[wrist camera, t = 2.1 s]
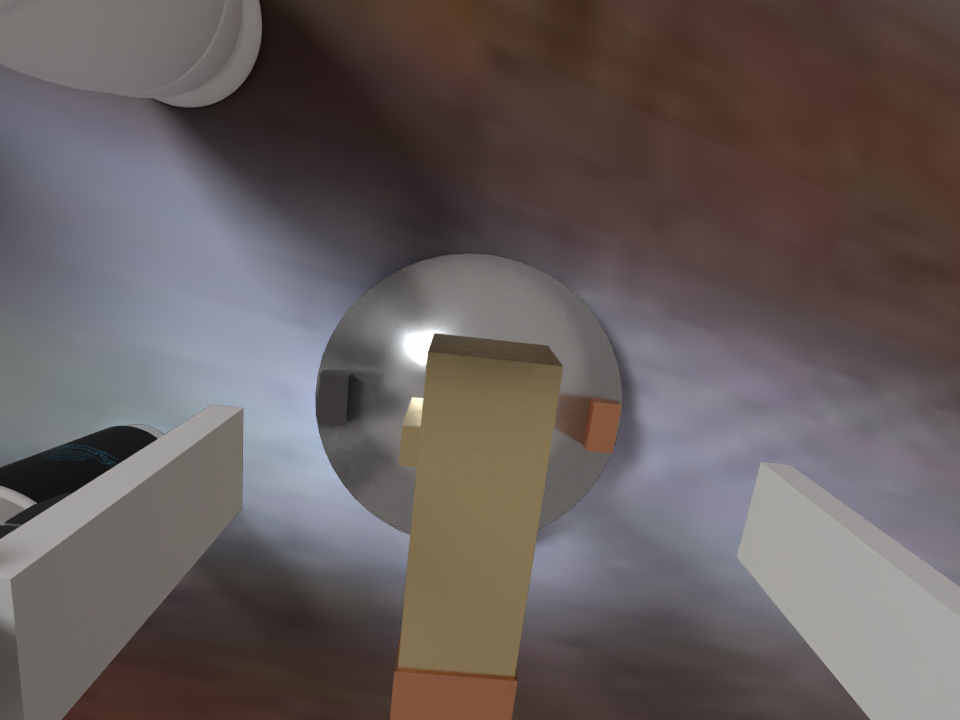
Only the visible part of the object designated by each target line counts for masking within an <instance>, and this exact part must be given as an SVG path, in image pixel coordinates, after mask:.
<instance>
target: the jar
mask: <svg viewBox="0 0 960 720" xmlns="http://www.w3.org/2000/svg"><path fill="white" fill-rule="evenodd" d="M261 36H262V16H261V9H260V3H259V0H0V64H1V65H4V66H6V67H9V68H11V69H14V70H16V71H19V72H22V73H24V74H27V75H30V76H33V77H36V78H39V79H42V80H46V81H49V82H53V83H56V84H60V85H64V86H68V87H73V88H78V89H83V90H90V91H97V92H106V93H114V94H119V95H124V96H131V97H140V98H154V99H156V100H158V101H161V102H163V103H166V104H169V105H173V106H179V107H202V106H206V105H210V104H213V103H216V102H218V101H220V100H222V99H224V98H226V97H227V96H229V95H230V94H232V93H233V92H234V91H235V90H236V89H238V88H239V87H240V86H241V84H242V83H243V82H244V81H245V79H246V78H247V77H248V75H249V74H250V72H251V70H252V68H253V66H254V64H255V61H256V59H257V56H258V53H259V48H260V44H261Z"/></svg>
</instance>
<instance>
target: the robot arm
mask: <svg viewBox="0 0 960 720" xmlns="http://www.w3.org/2000/svg"><path fill="white" fill-rule="evenodd" d="M242 473H243V408H239V407H229V406H220V405H211V406H209V407H208V408H206V409H204V410H203V411H201V412H200V413H198V414H197V415H195V416H193V417H192V418H190V419H189V420H187V421H185V422H184V423H182V424H181V425H179V426H178V427H176V428H174V429H173V430H171V431H170V432H168V433H167V434H165V435H163V436H162V437H160V438H159V439H157V440H156V441H154V442H152V443H151V444H149V445H148V446H146V447H145V448H143V449H141V450H140V451H138V452H137V453H135V454H134V455H132V456H130V457H129V458H127V459H126V460H124V461H122V462H121V463H119V464H118V465H116V466H115V467H113V468H111V469H110V470H108V471H107V472H105V473H104V474H102V475H100V476H99V477H97V478H96V479H94V480H93V481H91V482H89V483H88V484H86V485H85V486H83V487H82V488H80V489H78V490H77V491H75V492H74V493H64V494H61V495H59V496H56V497H53V498H51V499H48V500H45V501H42V502H40V503H37V504H34V505H32V506H30V507H29V508H27V509H25V510H24V511H22V512H20V513H19V514H17V515H15V516H14V517H12V518H10V519H9V520H7V521H6V522H5V524H4V525H0V720H61V719H62V718H63V717H64V716H65V715H66V714H67V712H68V711H69V710H70V709H71V708H72V707H73V705H74V704H75V703H76V702H77V701H78V700H79V698H80V697H81V696H82V695H83V694H84V693H85V691H86V690H87V689H88V688H89V687H90V686H91V684H92V683H93V682H94V681H95V680H96V679H97V677H98V676H99V675H100V674H101V673H102V672H103V670H104V669H105V668H106V667H107V666H108V665H109V663H110V662H111V661H112V660H113V659H114V658H115V656H116V655H117V654H118V653H119V652H120V651H121V649H122V648H123V647H124V646H125V645H126V644H127V642H128V641H129V640H130V639H131V638H132V637H133V635H134V634H135V633H136V632H137V631H138V630H139V628H140V627H141V626H142V625H143V624H144V623H145V621H146V620H147V619H148V618H149V617H150V616H151V614H152V613H153V612H154V611H155V610H156V609H157V607H158V606H159V605H160V604H161V603H162V602H163V600H164V599H165V598H166V597H167V596H168V595H169V593H170V592H171V591H172V590H173V589H174V588H175V586H176V585H177V584H178V583H179V582H180V581H181V579H182V578H183V577H184V576H185V575H186V574H187V572H188V571H189V570H190V569H191V568H192V567H193V565H194V564H195V563H196V562H197V561H198V560H199V558H200V557H201V556H202V555H203V554H204V553H205V551H206V550H207V549H208V548H209V547H210V546H211V544H212V543H213V542H214V541H215V540H216V539H217V537H218V536H219V535H220V534H221V533H222V532H223V530H224V529H225V528H226V527H227V526H228V525H229V523H230V522H231V521H232V520H233V519H234V518H235V516H236V515H237V514H238V513H239V512H240V511H241V510H242ZM737 558H738V559H739V560H740V562H741V563H742V564H743V565H744V567H745V568H746V569H747V570H748V571H749V573H750V574H751V575H752V576H753V577H754V579H755V580H756V581H757V582H758V584H759V585H760V586H761V587H762V588H763V590H764V591H765V592H766V593H767V594H768V596H769V597H770V598H771V599H772V601H773V602H774V603H775V604H776V605H777V607H778V608H779V609H780V610H781V611H782V613H783V614H784V615H785V616H786V618H787V619H788V620H789V621H790V622H791V624H792V625H793V626H794V627H795V628H796V630H797V631H798V632H799V633H800V635H801V636H802V637H803V638H804V639H805V641H806V642H807V643H808V644H809V645H810V647H811V648H812V649H813V650H814V652H815V653H816V654H817V655H818V656H819V658H820V659H821V660H822V661H823V662H824V664H825V665H826V666H827V667H828V669H829V670H830V671H831V672H832V673H833V675H834V676H835V677H836V678H837V679H838V681H839V682H840V683H841V684H842V686H843V687H844V688H845V689H846V690H847V692H848V693H849V694H850V695H851V696H852V698H853V699H854V700H855V701H856V703H857V704H858V705H859V706H860V707H861V709H862V710H863V711H864V712H865V713H866V715H867V716H868V717H869V718H870V720H960V587H959V586H958V585H956V584H955V583H953V582H952V581H951V580H949V579H948V578H946V577H945V576H944V575H942V574H941V573H940V572H938V571H937V570H935V569H934V568H933V567H931V566H930V565H928V564H927V563H926V562H924V561H923V560H921V559H920V558H919V557H917V556H916V555H914V554H913V553H912V552H910V551H909V550H907V549H906V548H905V547H903V546H902V545H901V544H899V543H898V542H896V541H895V540H894V539H892V538H891V537H889V536H888V535H887V534H885V533H884V532H882V531H881V530H880V529H878V528H877V527H875V526H874V525H873V524H871V523H870V522H869V521H867V520H866V519H864V518H863V517H862V516H860V515H859V514H857V513H856V512H855V511H853V510H852V509H850V508H849V507H848V506H846V505H845V504H843V503H842V502H841V501H839V500H838V499H836V498H835V497H834V496H832V495H831V494H830V493H828V492H827V491H825V490H824V489H823V488H821V487H820V486H818V485H817V484H816V483H814V482H813V481H811V480H810V479H809V478H807V477H806V476H804V475H803V474H802V473H800V472H799V471H798V470H796V469H795V468H793V467H792V466H791V465H784V464H775V463H765V462H761V464H760V468H759V472H758V476H757V479H756V483H755V487H754V491H753V495H752V499H751V503H750V507H749V511H748V515H747V519H746V523H745V527H744V530H743V534H742V538H741V542H740V546H739V550H738V554H737Z"/></svg>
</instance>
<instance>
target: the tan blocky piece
mask: <svg viewBox="0 0 960 720" xmlns="http://www.w3.org/2000/svg"><path fill="white" fill-rule="evenodd" d="M562 372H563V365H562V364H561V363H560V361H559V360H558V358H557V357H556V356H555V354H554V353H553V352H552V350H551V349H550V347H549V346H548V345H539V344H529V343H520V342H511V341H502V340H493V339H484V338H474V337H465V336H456V335H447V334H438V333H434V335H433V338H432V341H431V344H430V347H429V350H428V354H427V364H426V375H425V385H424V396H423V398H414V397H412V399H411V402H410V405H409V407H408V410H407V413H406V416H405V419H404V422H403V425H402V433H401V445H400V457H399V466H409V467H417V470H416V481H415V492H414V502H413V513H412V523H411V534H410V545H409V555H408V566H407V576H406V587H405V598H404V608H403V619H402V629H401V635H400V641H399V647H398V653H397V659H396V665H395V671H394V681H393V692H392V703H391V713H390V720H512V713H513V707H514V701H515V694H516V688H517V682H518V680H517V671H516V665H517V659H518V653H519V646H520V640H521V633H522V627H523V621H524V614H525V608H526V601H527V595H528V589H529V582H530V576H531V570H532V563H533V557H534V550H535V544H536V538H537V531H538V525H539V518H540V512H541V506H542V499H543V493H544V487H545V480H546V474H547V467H548V461H549V455H550V448H551V442H552V435H553V429H554V423H555V416H556V410H557V404H558V397H559V391H560V384H561V378H562Z"/></svg>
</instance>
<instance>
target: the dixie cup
mask: <svg viewBox="0 0 960 720" xmlns="http://www.w3.org/2000/svg"><path fill="white" fill-rule="evenodd" d="M163 435H164V434H162V433H161V432H159V431H158V430H156V429H154V428H151V427H149V426H145V425H138V424H133V425H126V426H115V427H110V428H107V429H104V430H101V431H99V432H96V433H93V434H91V435H88V436H85V437H82V438H80V439H77V440H74V441H72V442H69V443H66V444H63V445H61V446H58V447H55V448H52V449H50V450H47V451H44V452H42V453H39V454H36V455H33V456H31V457H28V458H25V459H23V460H20V461H17V462H14V463H12V464H9V465H6V466H3V467H1V468H0V525H4V524H5V522H6V521H7V520H9V519H10V518H12V517H14V516H15V515H17V514H19V513H20V512H22V511H24V510H25V509H27V508H29V507H30V506H32V505H34V504H37V503H40V502H42V501H45V500H48V499H51V498H53V497H56V496H59V495H61V494H64V493H74V492H75V491H77V490H78V489H80V488H82V487H83V486H85V485H86V484H88V483H89V482H91V481H93V480H94V479H96V478H97V477H99V476H100V475H102V474H104V473H105V472H107V471H108V470H110V469H111V468H113V467H115V466H116V465H118V464H119V463H121V462H122V461H124V460H126V459H127V458H129V457H130V456H132V455H134V454H135V453H137V452H138V451H140V450H141V449H143V448H145V447H146V446H148V445H149V444H151V443H152V442H154V441H156V440H157V439H159V438H160V437H162V436H163Z"/></svg>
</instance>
